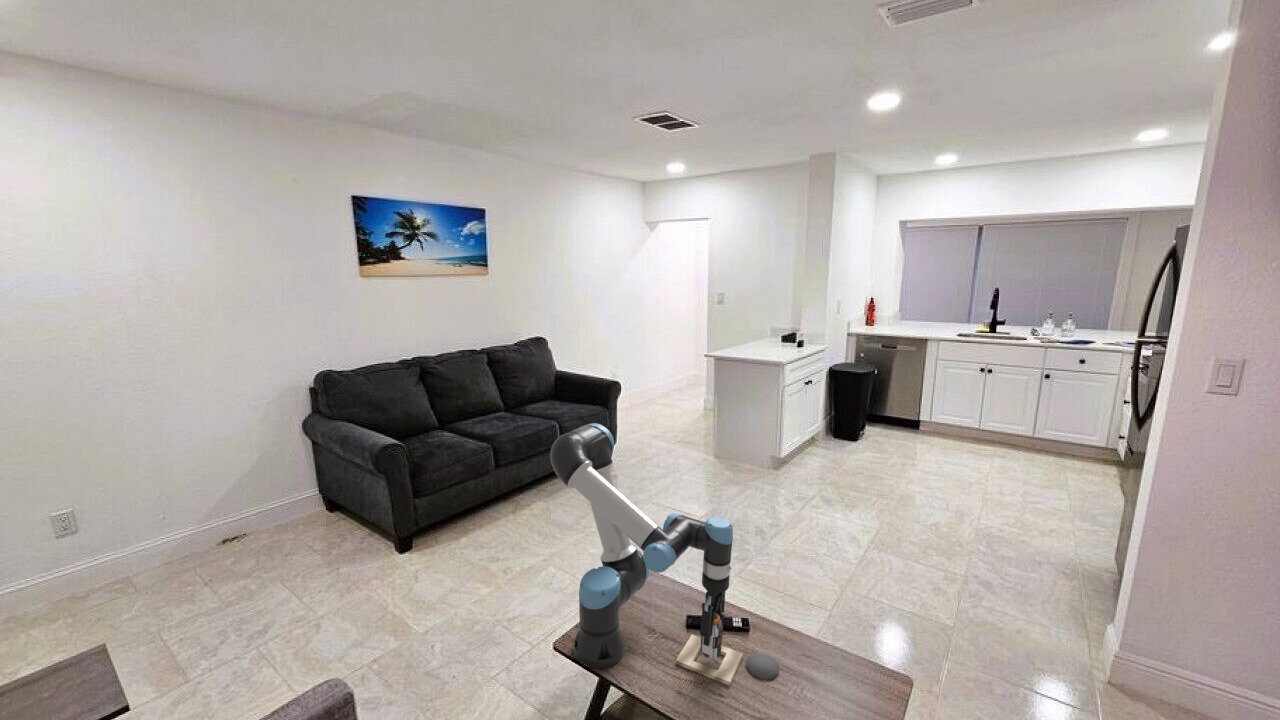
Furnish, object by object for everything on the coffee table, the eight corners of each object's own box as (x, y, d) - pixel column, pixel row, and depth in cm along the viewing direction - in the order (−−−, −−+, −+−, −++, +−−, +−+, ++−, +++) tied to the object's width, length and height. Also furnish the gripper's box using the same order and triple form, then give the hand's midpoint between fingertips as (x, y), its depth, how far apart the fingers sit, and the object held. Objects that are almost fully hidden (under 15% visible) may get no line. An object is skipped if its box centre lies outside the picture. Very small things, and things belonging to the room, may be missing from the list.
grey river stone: (742, 671, 146) (742, 669, 145) (751, 651, 153) (751, 648, 153) (774, 684, 141) (774, 681, 141) (781, 662, 149) (782, 660, 149)
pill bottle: (720, 660, 145) (723, 625, 143) (699, 657, 147) (701, 621, 144) (721, 645, 151) (724, 611, 149) (701, 642, 152) (703, 608, 150)
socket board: (675, 663, 148) (675, 660, 148) (691, 637, 158) (692, 634, 158) (729, 685, 141) (729, 682, 140) (742, 657, 151) (743, 653, 151)
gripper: (717, 595, 134) (711, 673, 139) (739, 560, 151) (733, 630, 155) (690, 586, 138) (685, 662, 142) (715, 552, 154) (710, 621, 158)
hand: (711, 645), depth 149 cm, fingers closed on pill bottle, 6 cm apart
